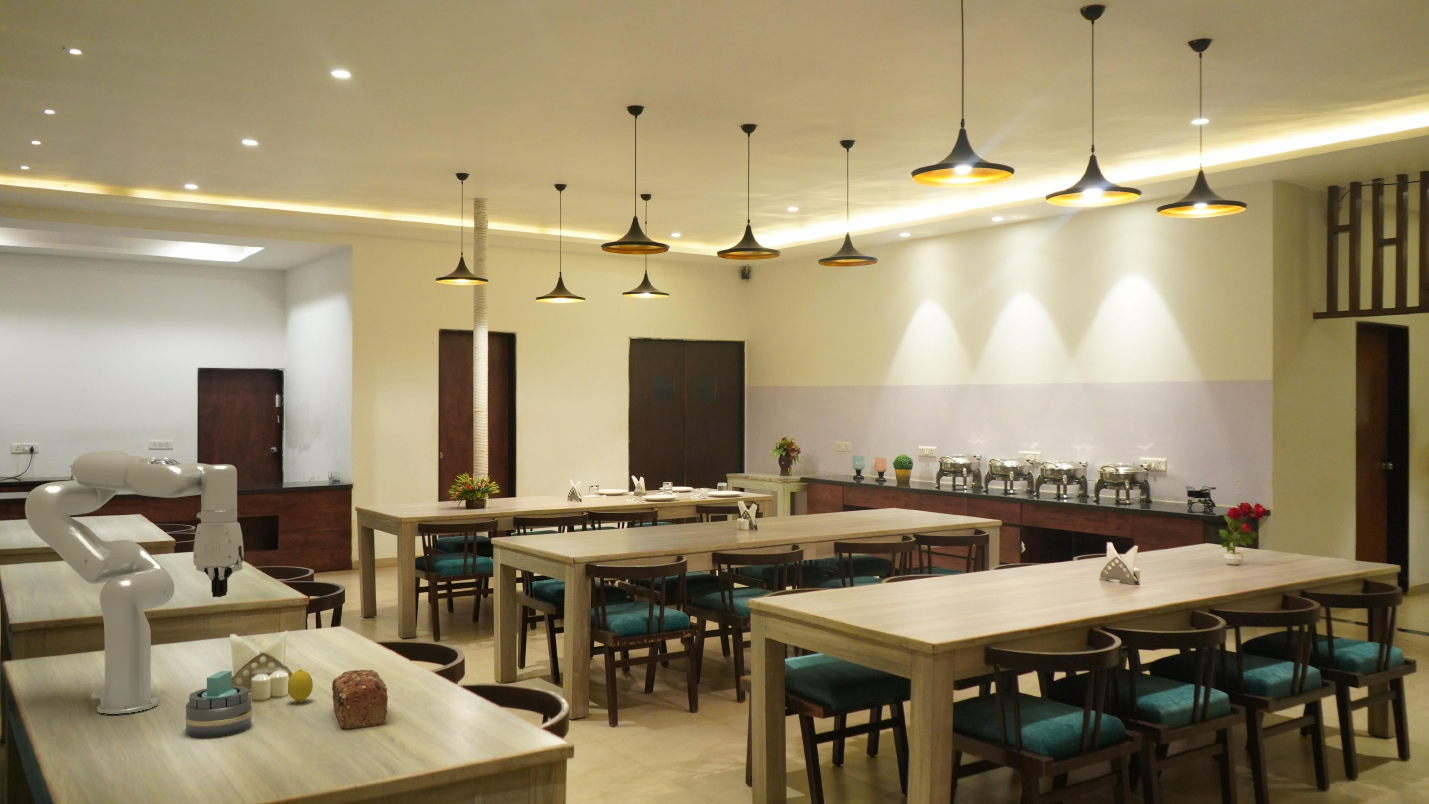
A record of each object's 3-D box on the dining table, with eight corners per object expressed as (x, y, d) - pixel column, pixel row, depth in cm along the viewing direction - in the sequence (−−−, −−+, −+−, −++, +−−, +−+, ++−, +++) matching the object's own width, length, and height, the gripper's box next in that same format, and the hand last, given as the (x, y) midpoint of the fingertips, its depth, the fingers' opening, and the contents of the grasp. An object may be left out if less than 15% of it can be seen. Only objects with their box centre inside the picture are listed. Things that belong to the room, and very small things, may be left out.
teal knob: (195, 706, 223) (195, 678, 223) (212, 697, 230) (212, 670, 230) (226, 706, 223) (226, 678, 223) (243, 697, 230) (242, 670, 230)
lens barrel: (172, 737, 221) (172, 700, 221) (207, 719, 234) (207, 684, 234) (230, 739, 219) (230, 701, 219) (263, 720, 233) (263, 685, 233)
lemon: (304, 706, 244) (303, 672, 244) (283, 705, 245) (283, 671, 245) (317, 699, 249) (317, 666, 249) (296, 698, 250) (296, 665, 250)
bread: (388, 725, 229) (388, 680, 229) (337, 732, 224) (337, 686, 225) (378, 703, 246) (378, 662, 246) (330, 709, 241) (330, 667, 241)
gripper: (179, 519, 236) (179, 598, 236) (241, 519, 235) (241, 599, 235) (198, 515, 244) (198, 592, 244) (258, 515, 243) (258, 593, 242)
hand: (219, 595), depth 239 cm, fingers closed
